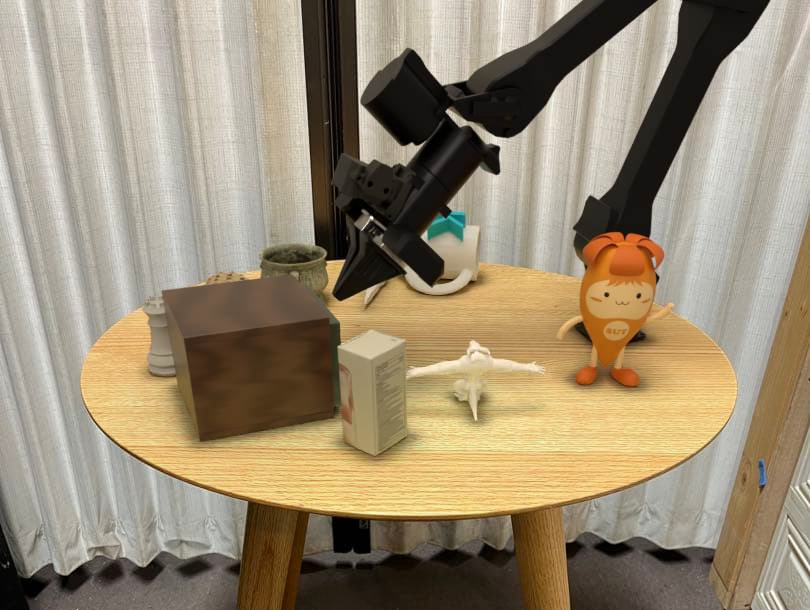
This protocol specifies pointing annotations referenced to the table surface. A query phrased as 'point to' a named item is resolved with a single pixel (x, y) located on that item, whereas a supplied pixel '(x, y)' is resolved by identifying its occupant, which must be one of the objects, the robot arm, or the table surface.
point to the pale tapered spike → (372, 292)
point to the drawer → (334, 346)
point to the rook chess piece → (159, 338)
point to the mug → (451, 253)
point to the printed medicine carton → (373, 391)
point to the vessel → (297, 264)
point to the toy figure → (616, 299)
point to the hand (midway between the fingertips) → (335, 297)
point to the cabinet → (250, 355)
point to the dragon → (473, 372)
